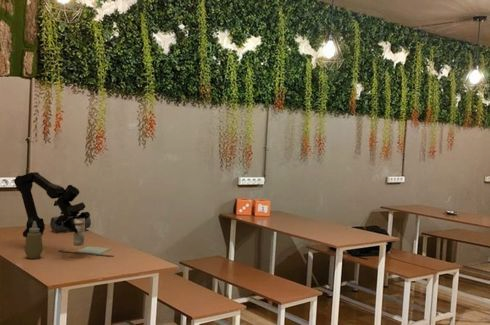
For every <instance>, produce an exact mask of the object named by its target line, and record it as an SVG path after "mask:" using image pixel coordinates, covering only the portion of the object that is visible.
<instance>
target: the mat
mask: <svg viewBox="0 0 490 325" xmlns="http://www.w3.org/2000/svg"><path fill="white" fill-rule="evenodd" d="M109 250H111V248H109V247H100V246H91V245H90V246H86V247H83V248H80V249H78V250H76V251H75V252H82V253H93V254H103V253H106V252H107V251H109Z"/></svg>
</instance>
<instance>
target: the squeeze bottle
mask: <svg viewBox="0 0 490 325" xmlns="http://www.w3.org/2000/svg"><path fill="white" fill-rule="evenodd" d="M39 231H40V229H39V228H37V224H36V221H33V225H32V228H30V229H29V232H30V233H28V234H27V239H26V238H25V246H24V253H25V256H26V258H27V259H31V260H33V259H34V260H35V259H36V260H37V259H40V258H41V255H42V252H43V250H44V249H43V239H42V238H43V237H42V236H43V235H41V233H40V232H39Z"/></svg>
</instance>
